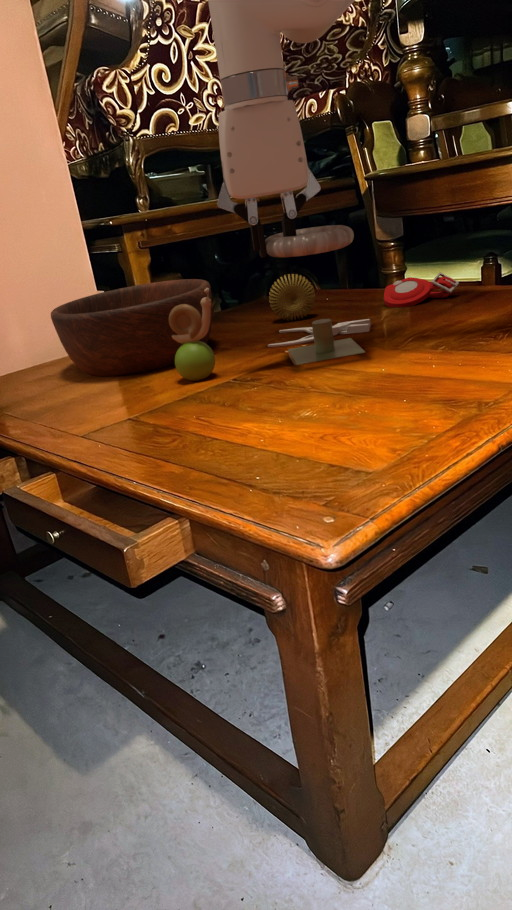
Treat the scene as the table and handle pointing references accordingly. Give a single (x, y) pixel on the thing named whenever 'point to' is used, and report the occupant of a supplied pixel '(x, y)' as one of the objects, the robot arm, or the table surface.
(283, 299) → the sculpture
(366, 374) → the table surface
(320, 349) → the stand
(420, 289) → the tracker holder
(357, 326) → the pliers
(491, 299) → the table surface
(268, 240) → the bracelet
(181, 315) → the snail figurine
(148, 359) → the wooden bowl
